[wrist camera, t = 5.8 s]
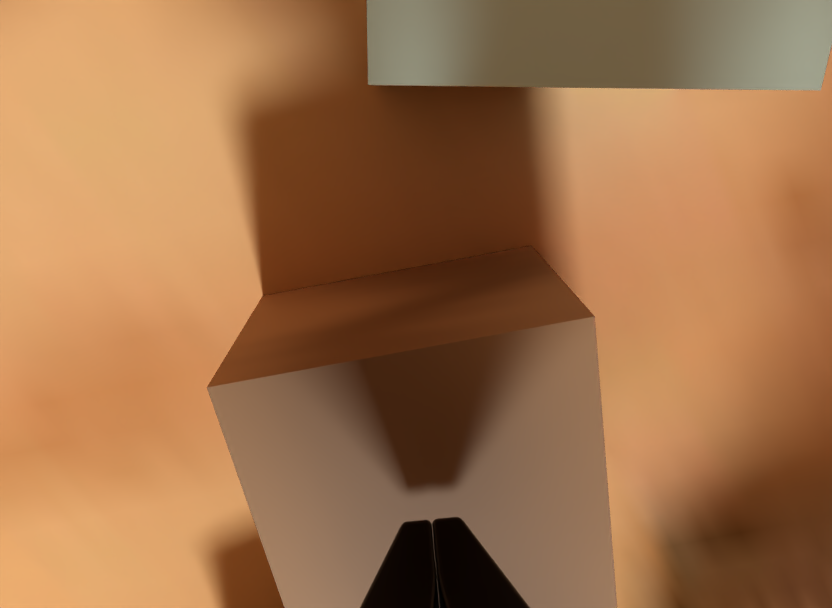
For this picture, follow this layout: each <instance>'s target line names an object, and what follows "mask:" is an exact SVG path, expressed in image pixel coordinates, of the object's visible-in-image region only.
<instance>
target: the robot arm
mask: <svg viewBox="0 0 832 608" xmlns="http://www.w3.org/2000/svg"><path fill="white" fill-rule="evenodd" d="M432 529H433V533H432ZM433 540H434V543H433ZM434 551H435V553H434ZM435 562H436V564H435ZM436 573H437V574H436ZM437 584H438V585H437ZM438 595H439V597H438ZM439 606H440V608H530V607H529V606H528V604H527V603H526V602H525V600H524V599H523V598H522V596H521V595H520V594H519V593H518V591H517V590H516V589H515V587H514V586H513V585H512V583H511V582H510V581H509V580H508V578H507V577H506V576H505V574H504V573H503V572H502V570H501V569H500V568H499V566H498V565H497V564H496V563H495V561H494V560H493V559H492V557H491V556H490V555H489V553H488V552H487V551H486V549H485V548H484V547H483V546H482V544H481V543H480V542H479V540H478V539H477V538H476V536H475V535H474V534H473V533H472V531H471V530H470V529H469V527H468V526H467V525H466V523H465V522H464V521H463V520H462V519H461V518H459V517H449V518H438V519H435V520H434V521H433V522H432V524H431V522H430V521H429V520H417V521H407V522H404V523H403V524H402V525H401V526H400V528H399V530H398V532H397V534H396V536H395V538H394V540H393V542H392V544H391V546H390V548H389V550H388V552H387V554H386V556H385V558H384V560H383V562H382V564H381V566H380V568H379V570H378V572H377V574H376V576H375V578H374V580H373V582H372V584H371V586H370V588H369V590H368V592H367V594H366V596H365V598H364V600H363V602H362V604H361V606H360V608H439Z"/></svg>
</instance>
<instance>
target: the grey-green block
mask: <svg viewBox="0 0 832 608" xmlns="http://www.w3.org/2000/svg"><path fill="white" fill-rule="evenodd" d="M831 46H832V0H367V53H368V85H387V86H469V87H551V88H633V89H728V90H821V87H822V83H823V79H824V75H825V70H826V66H827V62H828V58H829V54H830V50H831Z"/></svg>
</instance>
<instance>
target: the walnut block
mask: <svg viewBox="0 0 832 608" xmlns="http://www.w3.org/2000/svg"><path fill="white" fill-rule="evenodd" d="M207 389H208V392H209V395H210V398H211V401H212V403H213V406H214V409H215V412H216V415H217V418H218V420H219V423H220V426H221V429H222V432H223V435H224V437H225V440H226V443H227V446H228V449H229V452H230V455H231V457H232V460H233V463H234V466H235V469H236V472H237V474H238V477H239V480H240V483H241V486H242V489H243V491H244V494H245V497H246V500H247V503H248V506H249V508H250V511H251V514H252V517H253V520H254V523H255V526H256V528H257V531H258V534H259V537H260V540H261V543H262V545H263V548H264V551H265V554H266V557H267V560H268V562H269V565H270V568H271V571H272V574H273V577H274V579H275V582H276V585H277V588H278V591H279V594H280V597H281V599H282V602H283V605H284V608H360V606H361V604H362V602H363V600H364V598H365V596H366V594H367V592H368V590H369V588H370V586H371V584H372V582H373V580H374V578H375V576H376V574H377V572H378V570H379V568H380V566H381V564H382V562H383V560H384V558H385V556H386V554H387V552H388V550H389V548H390V546H391V544H392V542H393V540H394V538H395V536H396V534H397V532H398V530H399V528H400V526H401V525H402V524H403V523H404V522H407V521H417V520H429V521H430V522H431V524H432V522H433V521H434V520H435V519H438V518H449V517H459V518H461V519H462V520H463V521H464V522H465V523H466V525H467V526H468V527H469V529H470V530H471V531H472V533H473V534H474V535H475V536H476V538H477V539H478V540H479V542H480V543H481V544H482V546H483V547H484V548H485V549H486V551H487V552H488V553H489V555H490V556H491V557H492V559H493V560H494V561H495V563H496V564H497V565H498V566H499V568H500V569H501V570H502V572H503V573H504V574H505V576H506V577H507V578H508V580H509V581H510V582H511V583H512V585H513V586H514V587H515V589H516V590H517V591H518V593H519V594H520V595H521V596H522V598H523V599H524V600H525V602H526V603H527V604H528V606H529V607H530V608H617V599H616V586H615V573H614V560H613V547H612V534H611V521H610V508H609V496H608V483H607V470H606V457H605V444H604V431H603V418H602V405H601V392H600V379H599V366H598V353H597V340H596V327H595V316H594V315H593V314H592V313H591V312H590V311H589V310H588V308H587V307H586V306H585V305H584V304H583V303H582V302H581V301H580V299H579V298H578V297H577V296H576V295H575V294H574V293H573V292H572V291H571V289H570V288H569V287H568V286H567V285H566V284H565V283H564V282H563V280H562V279H561V278H560V277H559V276H558V275H557V274H556V273H555V272H554V270H553V269H552V268H551V267H550V266H549V265H548V264H547V263H546V261H545V260H544V259H543V258H542V257H541V256H540V255H539V254H538V252H537V251H536V250H535V249H534V248H533V247H532V246H527V247H521V248H516V249H511V250H505V251H500V252H495V253H489V254H484V255H479V256H473V257H468V258H462V259H457V260H452V261H446V262H441V263H436V264H430V265H425V266H420V267H414V268H409V269H403V270H398V271H393V272H387V273H382V274H377V275H371V276H366V277H361V278H355V279H350V280H344V281H339V282H334V283H328V284H323V285H318V286H312V287H307V288H301V289H296V290H291V291H285V292H280V293H275V294H269V295H264V296H262V298H261V300H260V301H259V303H258V305H257V306H256V308H255V310H254V311H253V313H252V314H251V316H250V318H249V319H248V321H247V323H246V324H245V326H244V328H243V329H242V331H241V333H240V334H239V336H238V337H237V339H236V341H235V342H234V344H233V346H232V347H231V349H230V351H229V352H228V354H227V355H226V357H225V359H224V360H223V362H222V364H221V365H220V367H219V369H218V370H217V372H216V373H215V375H214V377H213V378H212V380H211V382H210V383H209V385H208V387H207ZM432 533H433V529H432ZM433 543H434V540H433ZM434 553H435V551H434ZM435 564H436V562H435ZM436 574H437V573H436ZM437 585H438V584H437ZM438 597H439V595H438ZM439 608H440V606H439Z"/></svg>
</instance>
